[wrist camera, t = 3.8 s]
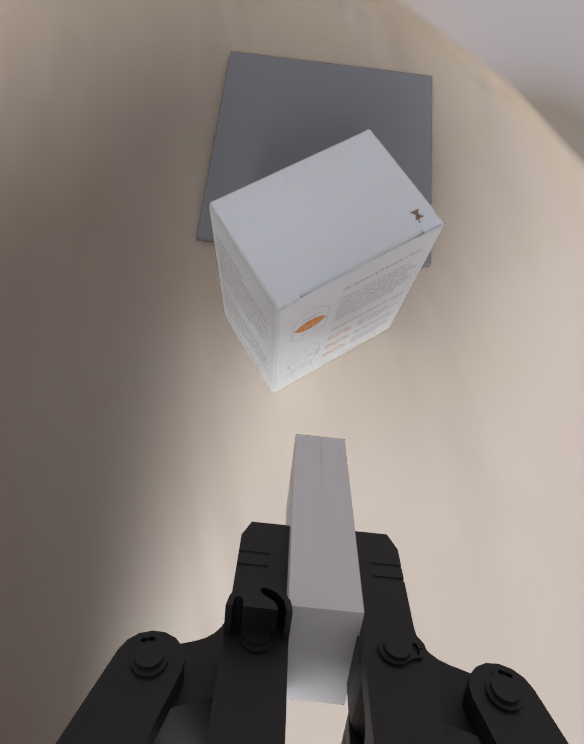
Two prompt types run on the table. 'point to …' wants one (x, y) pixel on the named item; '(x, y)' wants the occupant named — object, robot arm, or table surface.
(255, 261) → the small box
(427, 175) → the mat
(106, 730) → the robot arm
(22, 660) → the table surface
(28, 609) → the table surface
